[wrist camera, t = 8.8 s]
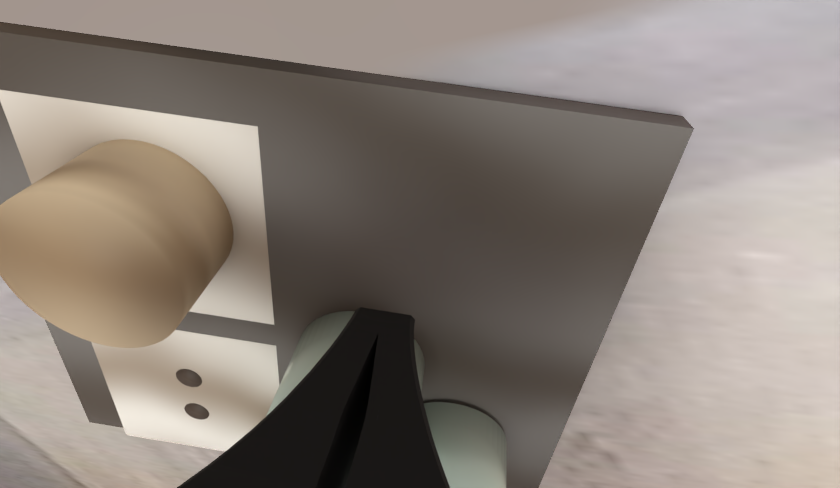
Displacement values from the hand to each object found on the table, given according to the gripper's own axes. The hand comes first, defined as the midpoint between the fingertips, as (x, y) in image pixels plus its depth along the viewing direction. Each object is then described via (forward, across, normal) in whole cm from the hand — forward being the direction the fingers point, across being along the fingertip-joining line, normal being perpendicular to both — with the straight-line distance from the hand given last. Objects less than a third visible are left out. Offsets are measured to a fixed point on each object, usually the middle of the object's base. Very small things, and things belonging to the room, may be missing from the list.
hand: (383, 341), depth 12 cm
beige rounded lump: (+3, +8, 0) cm, 8 cm away
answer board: (+4, +3, +3) cm, 6 cm away
